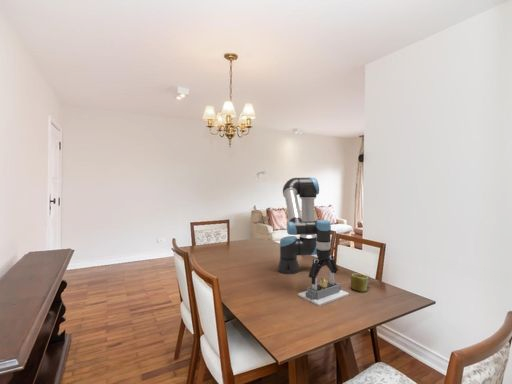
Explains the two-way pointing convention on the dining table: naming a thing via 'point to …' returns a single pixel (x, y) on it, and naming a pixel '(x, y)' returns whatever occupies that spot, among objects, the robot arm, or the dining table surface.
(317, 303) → the white grey flat tray
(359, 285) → the mug
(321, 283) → the pin
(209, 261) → the dining table surface
